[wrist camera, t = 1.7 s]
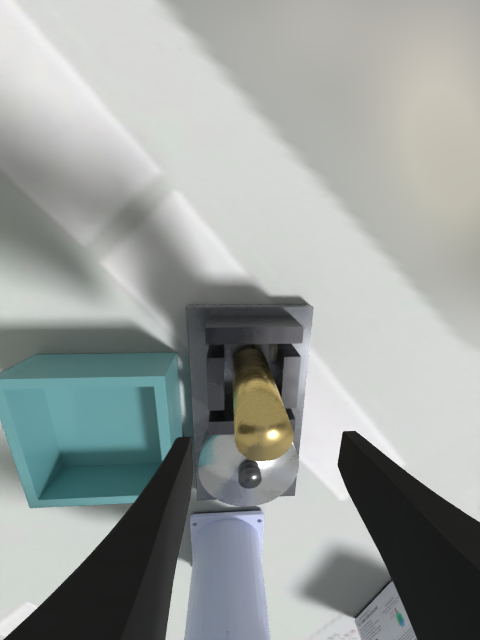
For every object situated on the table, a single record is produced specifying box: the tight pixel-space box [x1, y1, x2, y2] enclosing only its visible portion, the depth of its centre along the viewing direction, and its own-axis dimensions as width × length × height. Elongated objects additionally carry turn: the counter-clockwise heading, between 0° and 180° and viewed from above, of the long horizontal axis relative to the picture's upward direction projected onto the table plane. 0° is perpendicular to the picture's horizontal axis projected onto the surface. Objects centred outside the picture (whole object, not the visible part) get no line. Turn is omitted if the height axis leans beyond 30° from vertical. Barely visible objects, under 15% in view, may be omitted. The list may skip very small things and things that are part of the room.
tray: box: [0, 352, 183, 508], centre depth 19 cm, size 12×12×4 cm
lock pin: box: [232, 349, 294, 462], centre depth 15 cm, size 3×3×8 cm
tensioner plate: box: [186, 304, 313, 506], centre depth 20 cm, size 20×10×4 cm, turn 0°
